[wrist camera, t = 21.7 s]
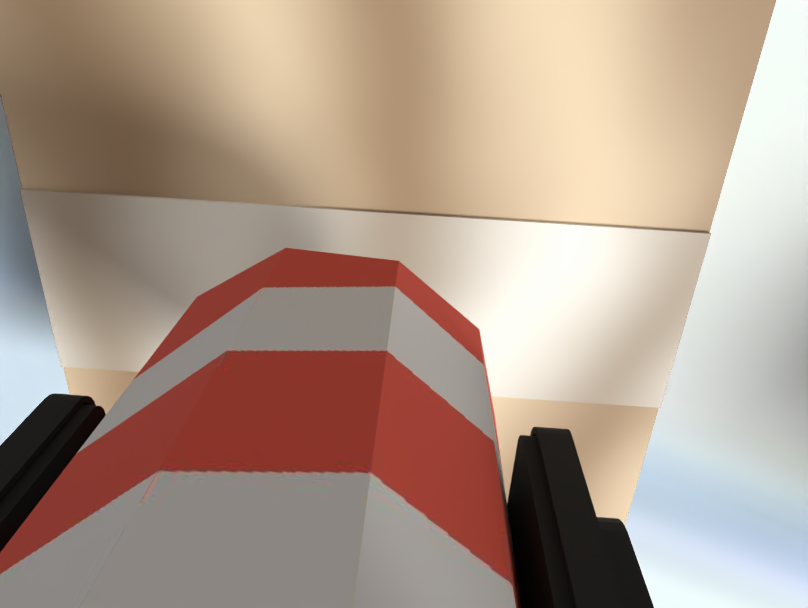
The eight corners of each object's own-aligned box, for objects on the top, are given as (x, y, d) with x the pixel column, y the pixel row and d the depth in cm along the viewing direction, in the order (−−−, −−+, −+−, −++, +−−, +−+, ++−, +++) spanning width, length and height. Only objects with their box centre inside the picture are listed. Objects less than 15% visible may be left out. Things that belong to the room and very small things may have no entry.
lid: (117, 516, 21) (101, 541, 20) (-23, -142, 13) (-60, -153, 12) (602, 551, 21) (610, 579, 20) (780, -99, 13) (809, -107, 12)
